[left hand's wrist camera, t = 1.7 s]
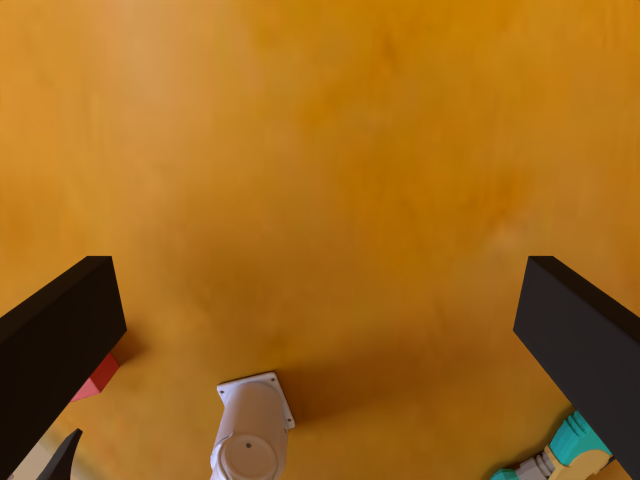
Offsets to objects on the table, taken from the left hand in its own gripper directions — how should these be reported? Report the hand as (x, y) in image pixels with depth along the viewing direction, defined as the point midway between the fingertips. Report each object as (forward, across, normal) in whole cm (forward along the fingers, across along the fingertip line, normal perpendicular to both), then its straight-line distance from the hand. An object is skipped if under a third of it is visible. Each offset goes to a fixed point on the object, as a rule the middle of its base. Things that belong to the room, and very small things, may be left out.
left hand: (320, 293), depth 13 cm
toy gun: (+30, +36, -41) cm, 63 cm away
